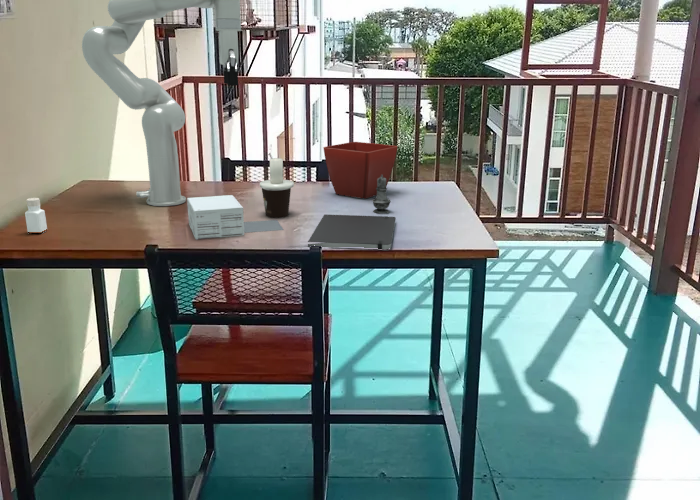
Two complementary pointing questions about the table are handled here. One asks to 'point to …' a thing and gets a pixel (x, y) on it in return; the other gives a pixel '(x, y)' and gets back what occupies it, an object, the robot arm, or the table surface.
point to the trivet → (262, 226)
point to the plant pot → (359, 167)
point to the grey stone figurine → (381, 197)
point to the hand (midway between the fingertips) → (231, 84)
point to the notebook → (354, 231)
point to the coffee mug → (276, 202)
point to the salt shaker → (35, 216)
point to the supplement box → (215, 216)
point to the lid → (276, 177)
